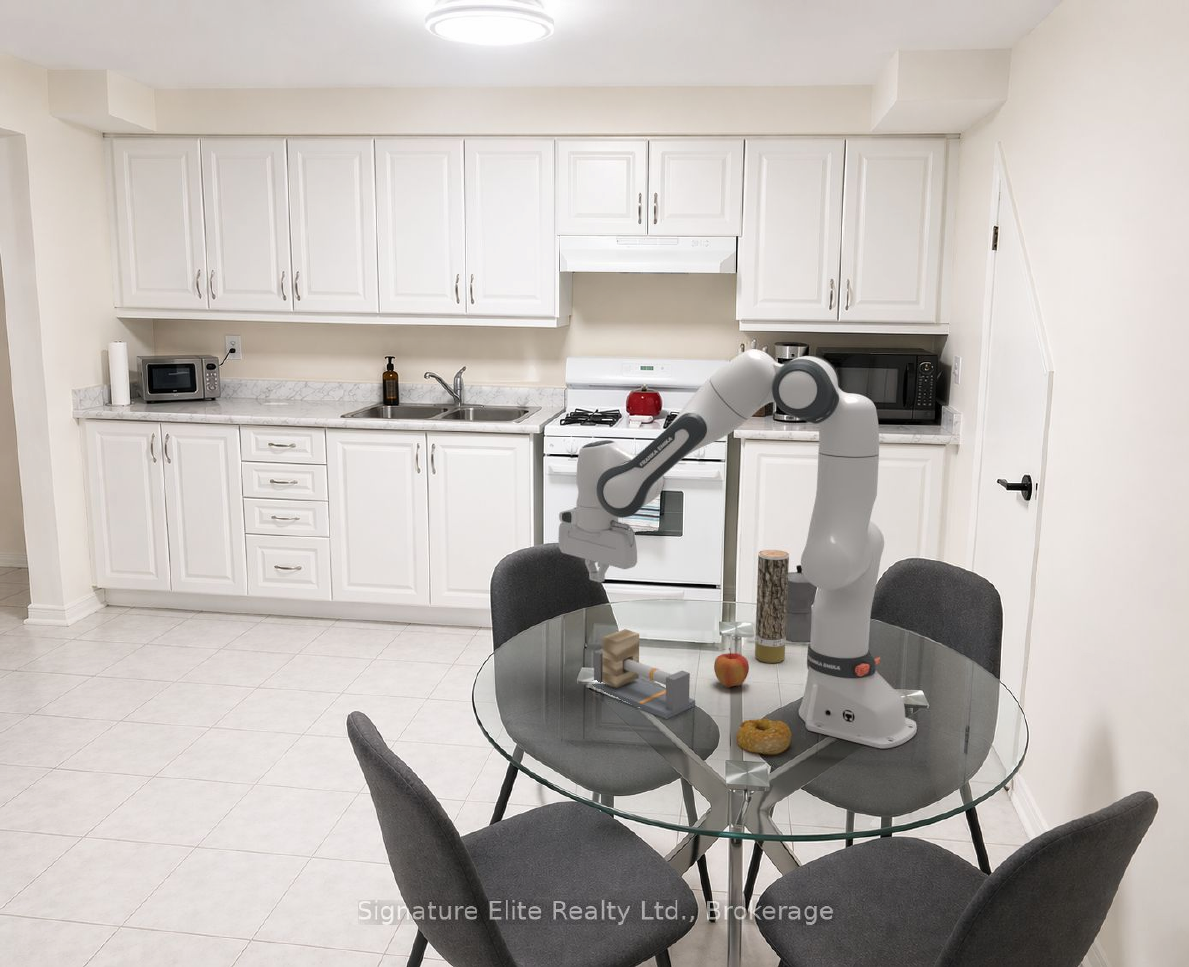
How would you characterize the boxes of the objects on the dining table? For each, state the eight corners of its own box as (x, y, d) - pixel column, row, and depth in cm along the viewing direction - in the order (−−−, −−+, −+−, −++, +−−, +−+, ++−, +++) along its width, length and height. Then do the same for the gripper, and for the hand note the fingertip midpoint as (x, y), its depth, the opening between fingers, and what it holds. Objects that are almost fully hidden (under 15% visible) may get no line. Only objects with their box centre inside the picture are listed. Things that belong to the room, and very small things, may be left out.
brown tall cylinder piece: (783, 654, 222) (787, 550, 217) (786, 664, 216) (790, 558, 211) (753, 652, 223) (757, 549, 218) (755, 663, 216) (759, 557, 212)
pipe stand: (695, 705, 194) (696, 670, 192) (666, 719, 187) (667, 682, 186) (616, 676, 209) (616, 643, 207) (587, 688, 202) (587, 654, 201)
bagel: (782, 730, 183) (783, 707, 182) (797, 758, 172) (797, 733, 171) (731, 732, 182) (731, 708, 181) (742, 759, 172) (742, 735, 171)
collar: (638, 678, 202) (639, 633, 201) (616, 687, 198) (616, 641, 196) (625, 673, 205) (625, 629, 203) (602, 682, 200) (602, 637, 198)
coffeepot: (766, 639, 232) (769, 567, 229) (773, 626, 241) (775, 558, 237) (831, 646, 227) (834, 574, 224) (835, 634, 236) (839, 563, 232)
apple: (721, 694, 199) (722, 658, 198) (708, 681, 206) (709, 646, 205) (753, 690, 201) (755, 654, 200) (739, 677, 208) (740, 642, 207)
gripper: (644, 523, 195) (643, 587, 197) (574, 507, 209) (574, 568, 212) (623, 528, 190) (622, 594, 193) (553, 512, 204) (553, 574, 207)
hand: (596, 580), depth 202 cm, fingers closed
